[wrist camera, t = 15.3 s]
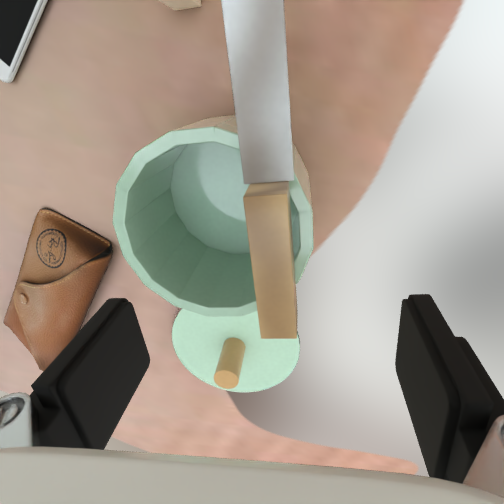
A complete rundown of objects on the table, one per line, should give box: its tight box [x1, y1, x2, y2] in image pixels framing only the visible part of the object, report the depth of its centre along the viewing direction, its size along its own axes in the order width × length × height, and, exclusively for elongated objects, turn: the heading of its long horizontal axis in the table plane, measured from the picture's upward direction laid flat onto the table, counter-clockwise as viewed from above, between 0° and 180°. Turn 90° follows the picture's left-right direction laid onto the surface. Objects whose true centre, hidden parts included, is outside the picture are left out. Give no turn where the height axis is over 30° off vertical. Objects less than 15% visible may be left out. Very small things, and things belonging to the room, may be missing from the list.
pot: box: [113, 115, 314, 317], centre depth 25 cm, size 13×13×9 cm
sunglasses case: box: [4, 208, 113, 371], centre depth 35 cm, size 18×7×7 cm
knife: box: [221, 0, 297, 339], centre depth 17 cm, size 3×19×3 cm, turn 7°
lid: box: [172, 309, 300, 392], centre depth 33 cm, size 14×14×6 cm
